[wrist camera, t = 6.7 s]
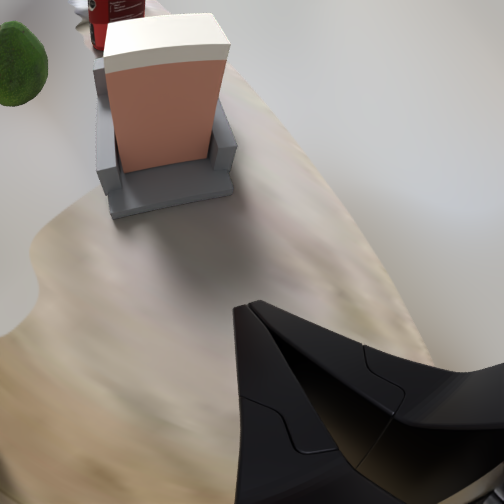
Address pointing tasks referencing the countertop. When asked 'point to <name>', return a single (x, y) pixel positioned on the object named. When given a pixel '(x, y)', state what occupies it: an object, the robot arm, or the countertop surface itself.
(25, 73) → the avocado
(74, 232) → the countertop surface
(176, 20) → the pink white rectangular block
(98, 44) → the canned food
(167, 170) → the housing
